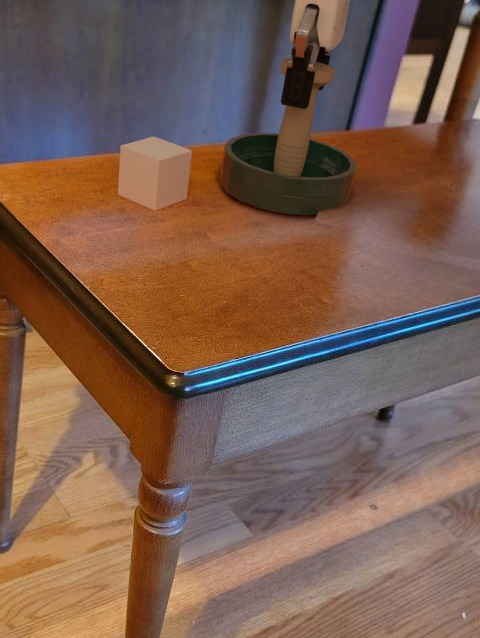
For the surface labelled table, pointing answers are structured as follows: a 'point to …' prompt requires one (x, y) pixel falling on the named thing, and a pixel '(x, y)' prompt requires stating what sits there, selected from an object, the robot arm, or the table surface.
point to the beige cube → (154, 172)
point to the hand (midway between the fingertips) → (302, 96)
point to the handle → (298, 126)
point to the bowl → (286, 176)
